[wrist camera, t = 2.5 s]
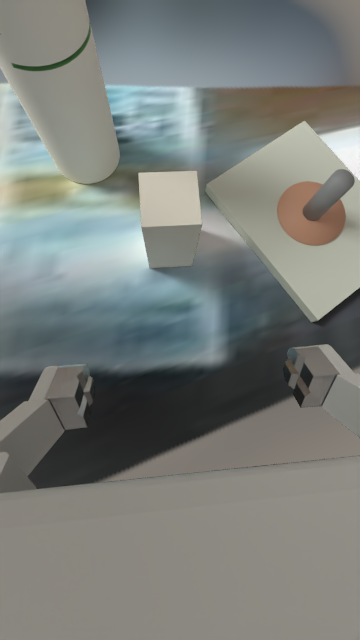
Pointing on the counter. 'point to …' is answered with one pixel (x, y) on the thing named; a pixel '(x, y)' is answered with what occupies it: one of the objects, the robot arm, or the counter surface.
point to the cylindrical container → (60, 84)
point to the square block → (170, 217)
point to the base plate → (297, 217)
